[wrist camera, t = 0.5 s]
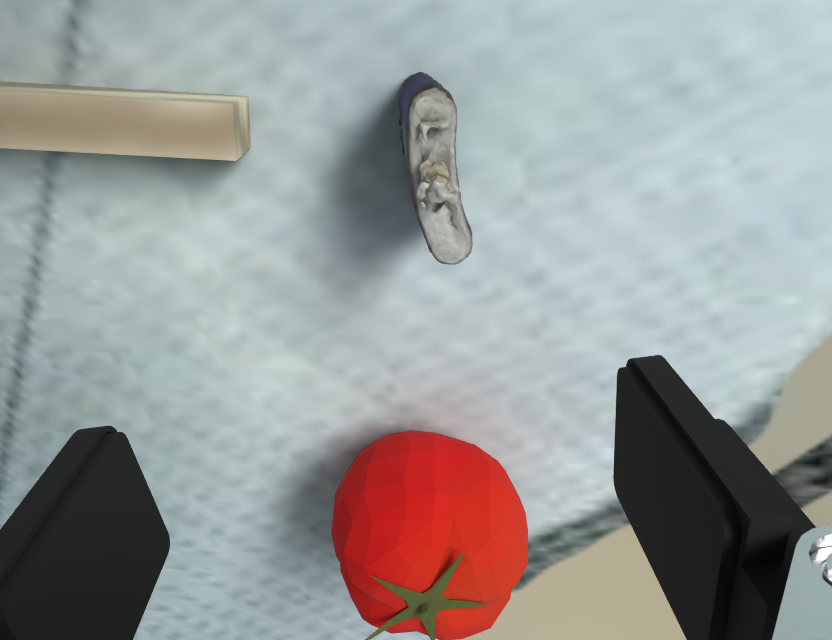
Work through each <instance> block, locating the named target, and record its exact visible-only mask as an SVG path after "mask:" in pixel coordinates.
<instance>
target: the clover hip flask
mask: <svg viewBox="0 0 832 640" xmlns="http://www.w3.org/2000/svg"><path fill="white" fill-rule="evenodd" d="M399 106H400V107H399V111H400V118H399V119H400V120H399V125H400V126H401V127H400V128H401V129H400V133H401V141H402V145H403V147H402V148H403V153H404V155H405V159H406V164H407V171H408V176H409V182H410V188H411V194H412V198H413V202H414V207H415V210H416V214H417V217H418V221H419V224H420V227H421V229H422V231H423V234H424V237H425V240H426V242H427V245H428V248H429V251H430V252H431V253H432V254H433V256H434V258H435V259H436V260H437V261H439V262H440V263H443V264H458V263H460V262H461V261H463V260H464V259H465V258H467V257H468V255H469V254H470V253H471V250H472V244H473V243H472V231H471V227H470V225H469V223H468V221H467V218H466V216H465V213H464V210H463V206H462V202H461V194H460V191H459V181H458V175H457V167H456V152H455V151H456V149H455V139H456V128H457V108H456V105H455V103H454V100H453V98H452V96H451V94H450V93H449V92H448V91H447V90H446V89H444V88H443V86H442V85H441V84H439V83H438V82H437V81H436V80H434V79H433V78H431V77H430V76H429V75H428V74H424V73H423V72H419V73H416V74H413V75H411V76H409V77H408V78H407V79H405V80H404V82H403V84H402V87H401V93H400V98H399Z"/></svg>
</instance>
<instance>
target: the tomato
mask: <svg viewBox="0 0 832 640" xmlns="http://www.w3.org/2000/svg"><path fill="white" fill-rule="evenodd" d="M332 537H333V542H334V547H335V551H336V556H337V558H338V560H339V561H340V567H341V573H342V576H343V578H344V581H345V583H346V586H347V588H348V591H349V593H350V596H351V598H352V600H353V602H354V604H355V606H356V608H357V609H358V611H359V613H360V615H361V617H362V619H364V620H365V621H367V622H368V623H369V624H371V625H373V626H375V627H377V628H379V629H378V630H377V631H375V632H374V633H373V634H372V635H370V636H369V637H368V638H367V639H365V640H369V639H372V638H373V637H375V636H376V635H378V634H380V633H381V632H383V631H387V632H389V633H403V632H413V631H417V632H420V633H423V634H425V635H428V636H429V637H430V638H431V640H435V638H436V639H439V640H455V639H463V638H466V637H469V636H472V635H474V634H477V633H479V632H482V631H484V630H487V629H489V628H491V627H492V625H493V624H494V622H495V621H496V619H497V618H498V616H499V615H500V613H501V612H502V610H503V609H504V607H505V606H506V604H507V603H508V601H509V600H510V596H511V590H512V588H513V587H514V586H516V585H517V583H518V582H519V580H520V578H521V576H522V574H523V572H524V570H525V568H526V567H527V565H528V527H527V520H526V513H525V511H524V508H523V505H522V503H521V500H520V497H519V496H518V494H517V492H516V490H515V488H514V486H513V484H512V482H511V480H510V478H509V477H508V475H507V473H506V471H505V470H504V468H503V467H502V466H501V464H500V463H499V462H498V461H497V460H496V459H494V458H493V457H492V456H490V455H489V454H487V453H486V452H484V451H483V450H482V449H480V448H479V447H477V446H476V445H474V444H471V443H468V442H465V441H462V440H458V439H455V438H452V437H448V436H444V435H441V434H437V433H431V432H422V431H413V430H410V431H405V432H400V433H395V434H389V435H387V436H385V437H383V438H380V439H378V440H376V441H375V442H373V443H372V444H370V445H369V446H368V447H366V448H365V449H363V450H362V451H361V452H360V453H359V454H358V456H357V457H356V459H355V460H354V462H353V463H352V465H351V466H350V468H349V469H348V471H347V472H346V474H345V475H344V477H343V479H342V481H341V483H340V485H339V487H338V489H337V492H336V494H335V501H334V511H333V523H332Z"/></svg>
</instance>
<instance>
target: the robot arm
mask: <svg viewBox="0 0 832 640" xmlns="http://www.w3.org/2000/svg"><path fill="white" fill-rule="evenodd" d="M614 486H615V491H616V494H617V497H618V499H619V501H620V503H621V505H622V507H623V509H624V511H625V513H626V516H627V518H628V520H629V522H630V524H631V526H632V528H633V530H634V532H635V534H636V536H637V538H638V540H639V542H640V544H641V546H642V548H643V550H644V553H645V555H646V557H647V559H648V561H649V563H650V565H651V567H652V569H653V571H654V573H655V575H656V577H657V579H658V581H659V583H660V585H661V587H662V590H663V592H664V594H665V596H666V598H667V600H668V602H669V604H670V606H671V608H672V610H673V612H674V614H675V616H676V618H677V621H678V623H679V624H680V627H681V629H682V631H683V633H684V635H685V637H686V639H687V640H832V526H823V527H818V528H816V527H815V526H814V524H813V523H812V522H811V521H810V520H809V518H808V517H807V516H806V515H805V514H804V512H803V511H802V510H801V509H800V508H799V507H798V505H797V504H796V503H795V502H794V501H793V500H792V498H791V497H790V496H789V495H788V494H787V492H786V491H785V490H784V489H783V488H782V487H781V485H780V484H779V483H778V482H777V481H776V480H775V478H774V477H773V476H772V475H771V474H770V473H769V471H768V470H767V469H766V468H765V467H764V465H763V464H762V463H761V462H760V461H759V460H758V458H757V457H756V456H755V455H754V454H753V453H752V451H751V450H750V449H749V448H748V447H747V445H746V444H745V443H744V442H743V441H742V440H741V438H740V437H739V436H738V435H737V434H736V433H735V431H734V430H733V429H732V428H731V427H730V426H729V425H728V424H727V423H726V422H725V421H723V420H720V419H714V418H713V416H712V415H711V414H710V413H709V412H708V410H707V409H706V408H705V407H704V406H703V404H702V403H701V402H700V401H699V399H698V398H697V397H696V396H695V395H694V393H693V392H692V391H691V390H690V389H689V387H688V386H687V385H686V384H685V383H684V381H683V380H682V379H681V378H680V376H679V375H678V374H677V373H676V372H675V370H674V369H673V368H672V367H671V366H670V364H669V363H668V362H667V361H666V360H665V358H664V357H662V356H661V355H655V356H648V357H640V358H632V359H629V360H628V362H627V364H626V367H623V368H619V369H618V373H617V395H616V422H615V450H614ZM169 547H170V538H169V534H168V531H167V529H166V526H165V524H164V522H163V519H162V517H161V515H160V513H159V510H158V508H157V506H156V503H155V501H154V499H153V496H152V494H151V492H150V489H149V487H148V485H147V482H146V480H145V478H144V475H143V473H142V471H141V468H140V466H139V464H138V462H137V459H136V457H135V455H134V452H133V450H132V448H131V445H130V443H129V441H128V438H127V437H126V435H125V434H124V433H122V432H117V430H116V429H115V428H114V427H112V426H102V427H95V428H87V429H80V430H77V431H76V432H75V433H74V434H73V435H72V436H71V438H70V439H69V440H68V442H67V443H66V444H65V446H64V447H63V448H62V450H61V451H60V452H59V453H58V455H57V456H56V457H55V459H54V460H53V461H52V463H51V464H50V465H49V467H48V468H47V469H46V470H45V472H44V473H43V474H42V476H41V477H40V478H39V480H38V481H37V482H36V484H35V485H34V486H33V487H32V489H31V490H30V491H29V493H28V494H27V495H26V497H25V498H24V499H23V501H22V502H21V503H20V505H19V506H18V507H17V508H16V510H15V511H14V512H13V514H12V515H11V516H10V518H9V519H8V520H7V522H6V523H5V524H4V525H3V527H2V528H1V529H0V640H133V638H134V635H135V633H136V631H137V628H138V626H139V623H140V621H141V618H142V616H143V614H144V611H145V609H146V606H147V604H148V601H149V599H150V597H151V594H152V592H153V589H154V587H155V584H156V582H157V580H158V577H159V575H160V572H161V570H162V568H163V565H164V563H165V560H166V558H167V555H168V552H169Z"/></svg>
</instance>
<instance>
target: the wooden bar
mask: <svg viewBox="0 0 832 640" xmlns="http://www.w3.org/2000/svg"><path fill="white" fill-rule="evenodd" d="M0 148H7V149H26V150H44V151H63V152H81V153H100V154H119V155H137V156H156V157H175V158H193V159H212V160H230V161H237V160H238V159H239V158H240V157H241V156H242V155H243V154H244V153H246V152H247V151H248V150H249V149H250V148H251V140H250V124H249V107H248V97H246V96H229V95H213V94H196V93H180V92H164V91H147V90H131V89H114V88H98V87H82V86H65V85H49V84H32V83H16V82H0Z"/></svg>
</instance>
